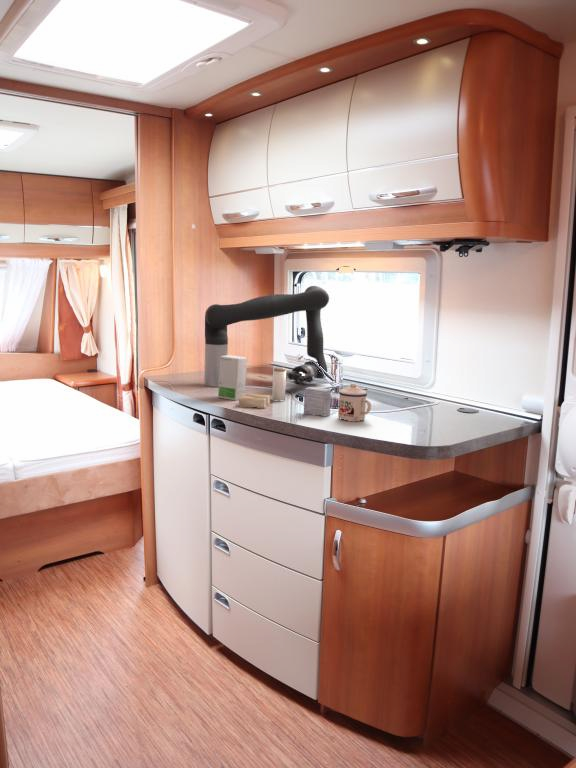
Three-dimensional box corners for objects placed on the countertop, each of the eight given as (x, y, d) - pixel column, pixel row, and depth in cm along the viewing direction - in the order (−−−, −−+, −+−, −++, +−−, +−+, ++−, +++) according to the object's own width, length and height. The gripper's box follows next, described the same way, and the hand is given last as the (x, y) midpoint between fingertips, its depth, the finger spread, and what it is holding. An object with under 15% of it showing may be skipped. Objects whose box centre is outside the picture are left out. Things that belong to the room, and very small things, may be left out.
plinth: (245, 402, 221) (245, 393, 220) (269, 403, 219) (270, 395, 219) (238, 406, 212) (239, 397, 212) (264, 408, 211) (264, 399, 210)
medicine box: (330, 415, 205) (331, 389, 204) (324, 417, 201) (325, 391, 200) (309, 411, 209) (310, 386, 207) (303, 413, 205) (304, 388, 204)
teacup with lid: (331, 418, 200) (333, 382, 198) (349, 414, 206) (351, 380, 204) (360, 425, 191) (362, 388, 190) (378, 421, 198) (380, 385, 196)
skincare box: (217, 398, 226) (218, 356, 224) (227, 395, 232) (228, 354, 230) (236, 400, 222) (238, 358, 220) (246, 398, 228) (247, 356, 226)
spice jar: (273, 398, 230) (274, 366, 228) (285, 399, 229) (287, 367, 227) (270, 400, 225) (272, 368, 224) (283, 401, 225) (284, 369, 223)
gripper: (286, 363, 253) (272, 368, 238) (319, 366, 248) (307, 371, 233) (286, 381, 254) (271, 387, 239) (318, 384, 249) (306, 390, 234)
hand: (289, 379), depth 236 cm, fingers open, 8 cm apart
